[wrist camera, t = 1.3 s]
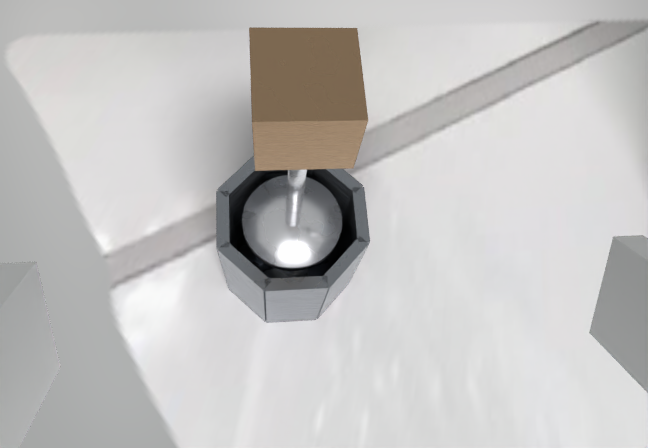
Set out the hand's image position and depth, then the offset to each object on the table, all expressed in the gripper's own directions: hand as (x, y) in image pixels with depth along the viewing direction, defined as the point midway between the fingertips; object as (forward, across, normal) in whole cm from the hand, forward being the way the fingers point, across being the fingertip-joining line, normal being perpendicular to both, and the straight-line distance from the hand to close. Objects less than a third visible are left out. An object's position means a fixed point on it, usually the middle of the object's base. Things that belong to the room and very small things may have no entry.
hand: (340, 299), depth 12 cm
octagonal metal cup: (+29, 0, -14) cm, 32 cm away
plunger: (+23, 0, -8) cm, 24 cm away
